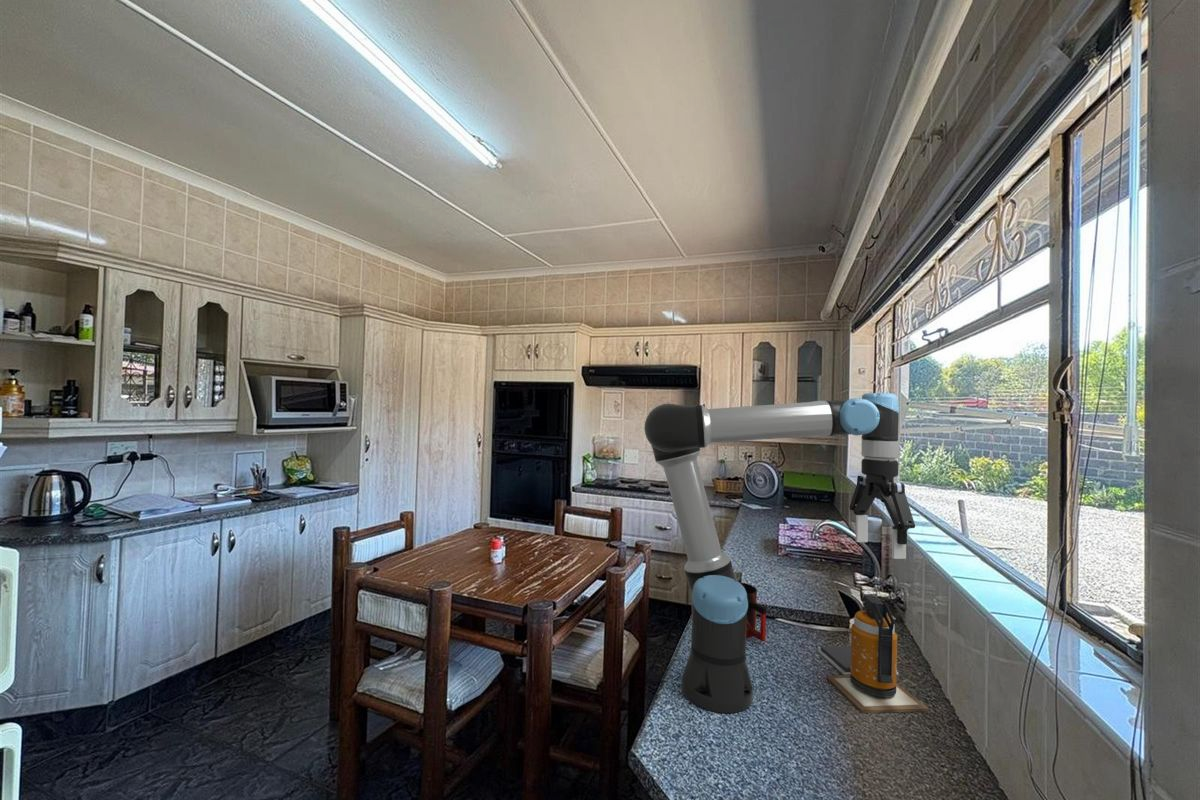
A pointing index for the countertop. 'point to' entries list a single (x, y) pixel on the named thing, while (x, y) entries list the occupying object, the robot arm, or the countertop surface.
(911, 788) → the countertop surface
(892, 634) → the canister
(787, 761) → the countertop surface
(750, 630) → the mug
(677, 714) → the countertop surface
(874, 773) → the countertop surface
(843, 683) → the box board
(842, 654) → the ink pad
